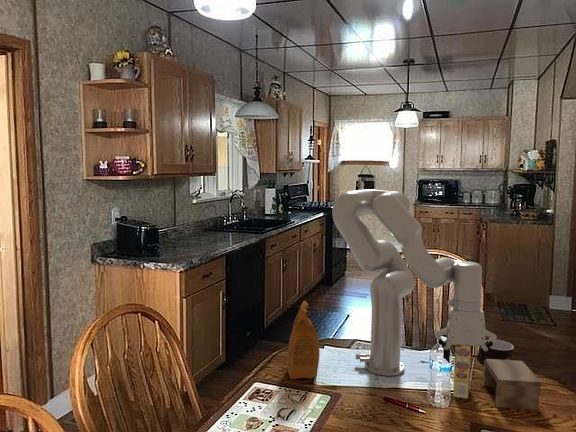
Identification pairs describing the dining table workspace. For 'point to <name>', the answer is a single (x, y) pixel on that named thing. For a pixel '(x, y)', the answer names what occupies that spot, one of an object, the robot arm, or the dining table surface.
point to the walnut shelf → (512, 383)
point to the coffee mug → (499, 351)
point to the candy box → (462, 371)
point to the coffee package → (303, 347)
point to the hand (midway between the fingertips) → (464, 361)
